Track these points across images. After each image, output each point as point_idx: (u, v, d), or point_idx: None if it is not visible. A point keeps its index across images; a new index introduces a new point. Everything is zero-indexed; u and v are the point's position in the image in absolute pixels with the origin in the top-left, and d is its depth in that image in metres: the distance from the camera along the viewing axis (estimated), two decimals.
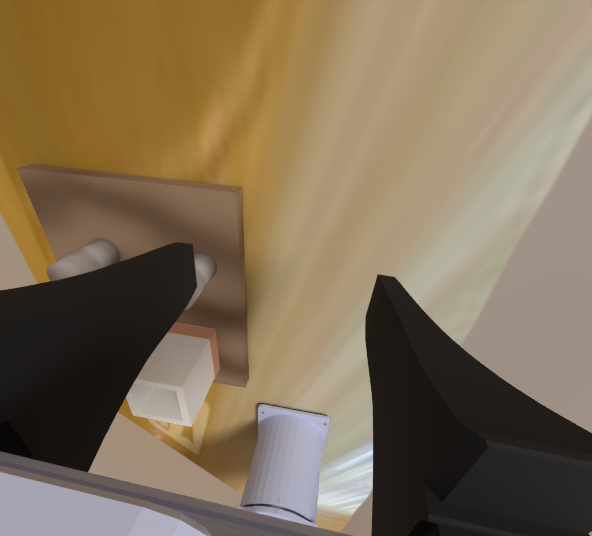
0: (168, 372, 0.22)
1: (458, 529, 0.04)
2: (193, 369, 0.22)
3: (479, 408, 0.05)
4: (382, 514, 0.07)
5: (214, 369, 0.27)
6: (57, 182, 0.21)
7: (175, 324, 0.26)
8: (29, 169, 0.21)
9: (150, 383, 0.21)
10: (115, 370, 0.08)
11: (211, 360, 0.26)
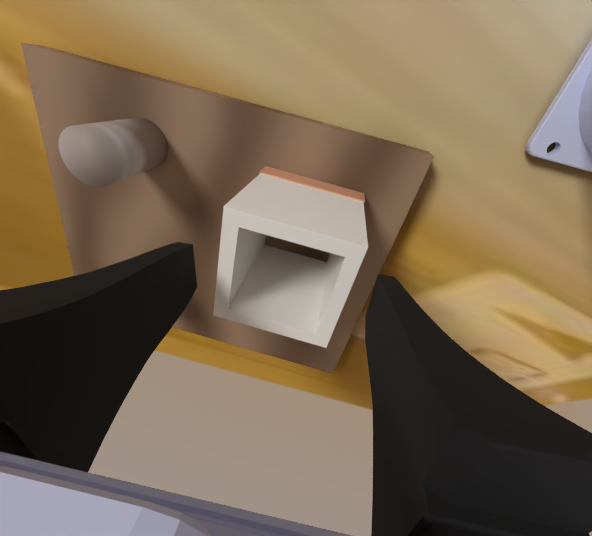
0: None
1: (458, 529, 0.04)
2: (244, 192, 0.11)
3: (480, 409, 0.05)
4: (382, 514, 0.07)
5: (340, 193, 0.14)
6: (82, 272, 0.21)
7: None
8: None
9: (224, 268, 0.11)
10: (115, 370, 0.08)
11: (309, 187, 0.14)
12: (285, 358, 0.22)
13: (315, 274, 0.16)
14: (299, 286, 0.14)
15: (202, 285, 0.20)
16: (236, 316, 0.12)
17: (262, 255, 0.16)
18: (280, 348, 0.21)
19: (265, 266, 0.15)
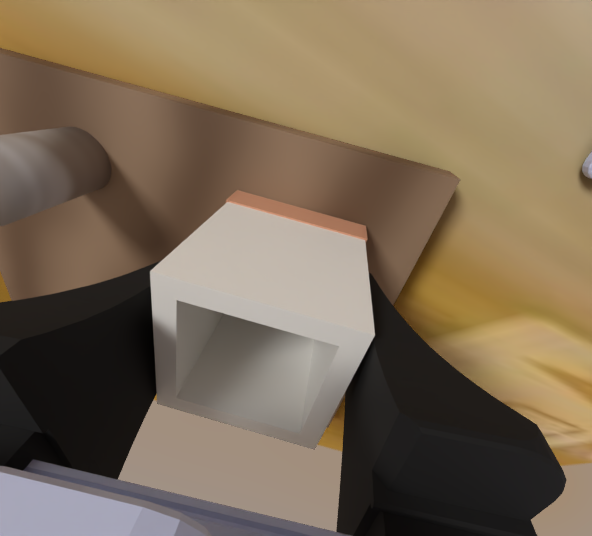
0: None
1: (403, 516, 0.05)
2: (194, 239, 0.08)
3: (424, 397, 0.05)
4: (345, 505, 0.07)
5: (335, 228, 0.10)
6: None
7: None
8: None
9: (163, 350, 0.08)
10: (143, 376, 0.08)
11: (292, 221, 0.10)
12: None
13: None
14: (281, 348, 0.11)
15: None
16: (188, 407, 0.09)
17: None
18: None
19: (238, 318, 0.12)
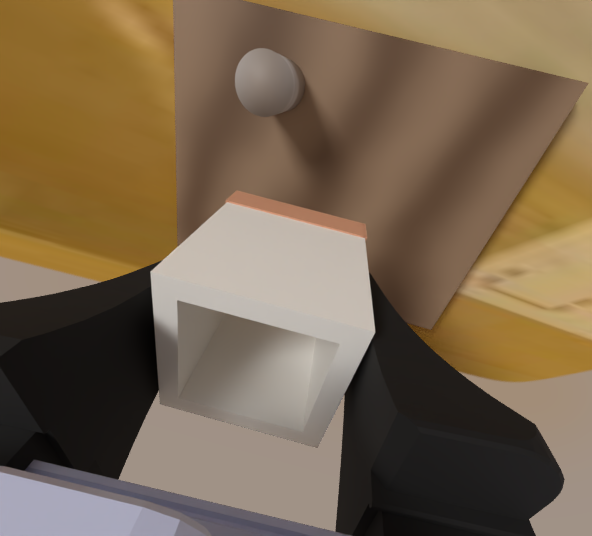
0: None
1: (401, 516, 0.05)
2: (194, 240, 0.08)
3: (423, 397, 0.05)
4: (343, 505, 0.07)
5: (334, 227, 0.10)
6: (186, 230, 0.21)
7: None
8: None
9: (165, 351, 0.08)
10: (144, 376, 0.08)
11: (292, 220, 0.10)
12: None
13: None
14: (283, 348, 0.11)
15: None
16: (191, 407, 0.09)
17: None
18: None
19: (239, 318, 0.12)
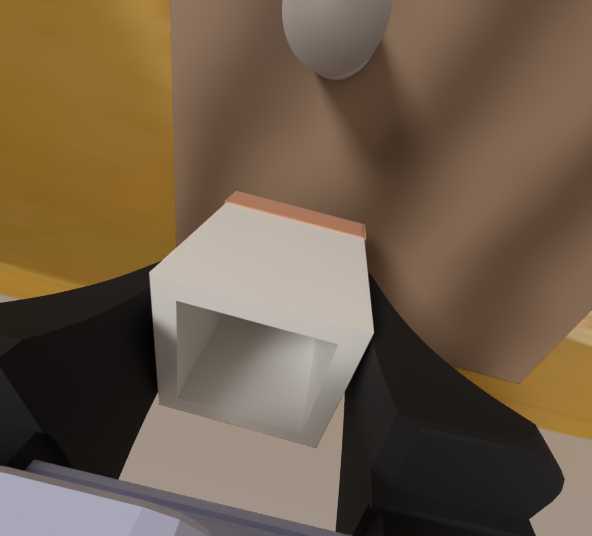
0: None
1: (401, 516, 0.05)
2: (193, 240, 0.08)
3: (423, 397, 0.05)
4: (344, 505, 0.07)
5: (334, 227, 0.10)
6: None
7: None
8: None
9: (164, 351, 0.08)
10: (144, 376, 0.08)
11: (291, 220, 0.10)
12: (454, 364, 0.16)
13: None
14: (282, 348, 0.11)
15: None
16: (190, 407, 0.09)
17: None
18: (452, 351, 0.16)
19: (239, 319, 0.12)
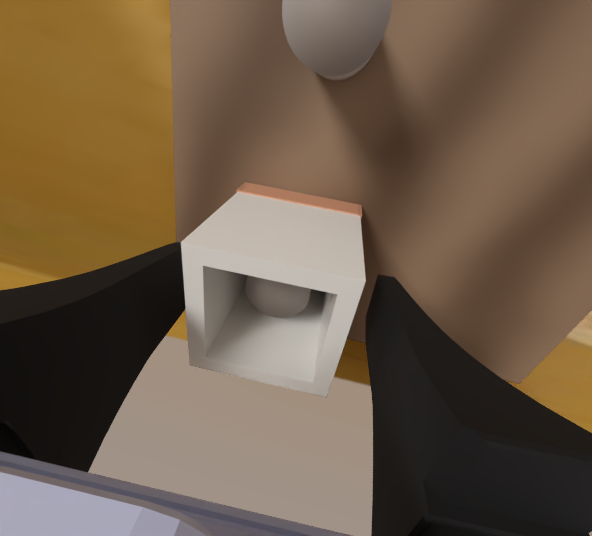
0: None
1: (458, 529, 0.04)
2: (212, 220, 0.09)
3: (480, 409, 0.05)
4: (382, 514, 0.07)
5: (332, 208, 0.12)
6: None
7: None
8: None
9: (193, 313, 0.09)
10: (115, 370, 0.08)
11: (295, 203, 0.12)
12: None
13: (312, 301, 0.14)
14: (293, 318, 0.12)
15: None
16: (216, 365, 0.10)
17: None
18: None
19: None
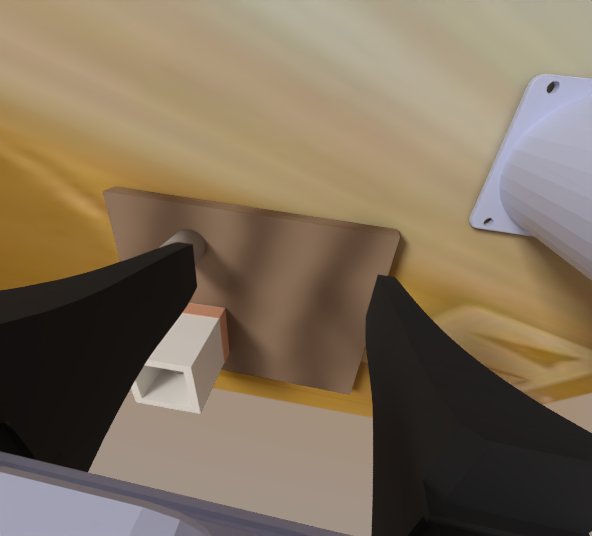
0: None
1: (458, 529, 0.04)
2: None
3: (480, 409, 0.05)
4: (382, 514, 0.07)
5: (205, 315, 0.23)
6: None
7: None
8: None
9: None
10: (115, 370, 0.08)
11: (186, 314, 0.23)
12: (309, 385, 0.27)
13: None
14: None
15: (238, 335, 0.25)
16: (148, 401, 0.21)
17: None
18: (304, 378, 0.26)
19: None
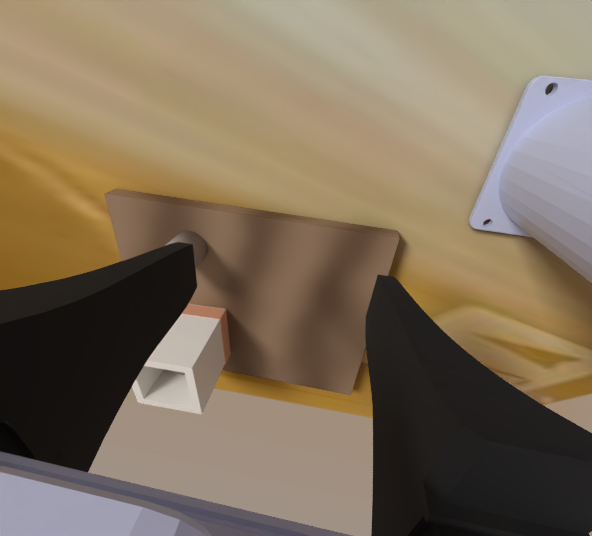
0: None
1: (458, 529, 0.04)
2: None
3: (479, 408, 0.05)
4: (382, 514, 0.07)
5: (206, 316, 0.23)
6: None
7: None
8: None
9: None
10: (115, 370, 0.08)
11: (187, 316, 0.23)
12: (310, 386, 0.27)
13: None
14: None
15: (239, 336, 0.25)
16: (149, 402, 0.22)
17: None
18: (305, 378, 0.27)
19: None
